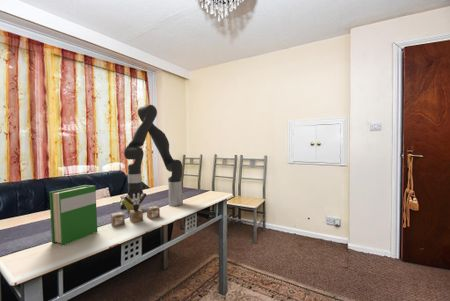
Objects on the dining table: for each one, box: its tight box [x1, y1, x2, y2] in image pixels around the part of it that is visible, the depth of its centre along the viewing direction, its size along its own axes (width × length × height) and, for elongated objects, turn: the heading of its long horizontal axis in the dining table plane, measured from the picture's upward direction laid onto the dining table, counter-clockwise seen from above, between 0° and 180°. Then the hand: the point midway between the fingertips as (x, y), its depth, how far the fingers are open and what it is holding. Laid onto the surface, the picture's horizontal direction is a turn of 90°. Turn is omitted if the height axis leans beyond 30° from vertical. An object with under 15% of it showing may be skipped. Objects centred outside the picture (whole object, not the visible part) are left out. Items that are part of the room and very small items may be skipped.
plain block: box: [129, 208, 144, 224], centre depth 134 cm, size 6×6×6 cm
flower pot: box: [123, 195, 142, 212], centre depth 156 cm, size 9×9×9 cm
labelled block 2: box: [146, 205, 161, 220], centre depth 139 cm, size 6×6×6 cm
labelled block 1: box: [110, 211, 126, 228], centre depth 128 cm, size 6×6×6 cm
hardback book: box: [48, 184, 98, 246], centre depth 111 cm, size 18×7×24 cm, turn 159°
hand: (135, 210), depth 134 cm, fingers closed
